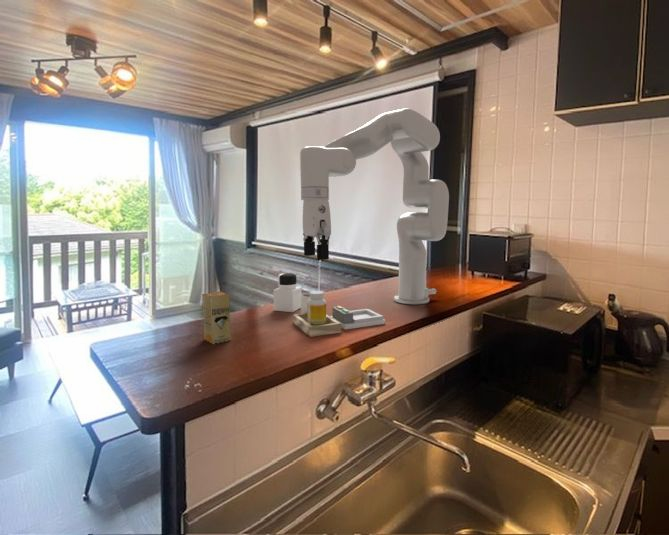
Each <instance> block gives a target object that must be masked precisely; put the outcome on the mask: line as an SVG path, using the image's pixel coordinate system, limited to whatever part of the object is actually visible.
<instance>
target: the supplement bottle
mask: <svg viewBox="0 0 669 535" xmlns="http://www.w3.org/2000/svg"><path fill="white" fill-rule="evenodd" d="M309 292H310V298H311V299H309V300H308V301H307V323H309V324H310V325H312V326H318V325H325V324H326V314H327V301H326V299H324V298H325V292H324V291H322V290H321V291H320V290H312V291H309Z"/></svg>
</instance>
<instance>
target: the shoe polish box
mask: <svg viewBox="0 0 669 535" xmlns="http://www.w3.org/2000/svg"><path fill="white" fill-rule="evenodd" d="M201 297H202V300H201V301H202V315H203V317H202V318H203V335H204V336H203V337H204V341H206V340H207V341H206V342H208V341H209V342H210V344H211V343H212V344H211V345H216V344H215V343H217V344H221V343H225V342H229V340H230V341H232V333H231V332H232V330H231V327H232V326H231V309H230V308H231V307H230V305H231V304H230V294H229V293H226V292H222V291H216V292H215V291H214V292H208V293H202V294H201ZM224 341H225V342H224ZM209 342H208V343H209ZM220 342H221V343H220Z"/></svg>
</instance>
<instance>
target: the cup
mask: <svg viewBox="0 0 669 535" xmlns="http://www.w3.org/2000/svg"><path fill="white" fill-rule="evenodd" d="M310 292H311V291H309V292H307V291H306V292H301V308H300V314H303V313H307V301H308V300H309V299H311V298H310Z"/></svg>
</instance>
